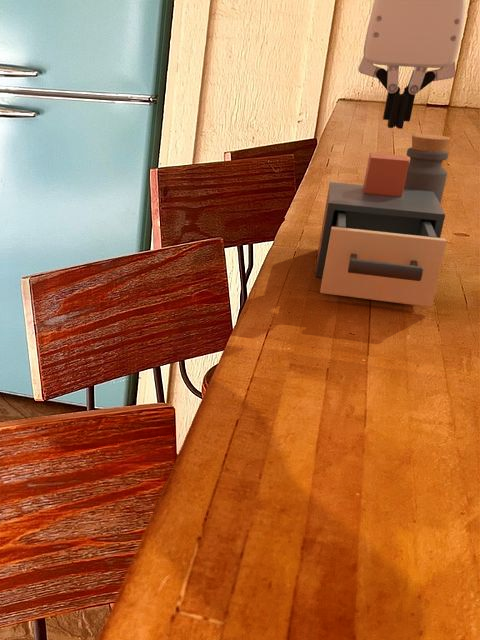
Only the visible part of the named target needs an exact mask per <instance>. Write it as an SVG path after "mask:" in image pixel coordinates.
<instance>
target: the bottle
mask: <svg viewBox="0 0 480 640" xmlns="http://www.w3.org/2000/svg"><path fill="white" fill-rule="evenodd" d="M450 141H451V137H449V136H445V135H439V134H427V133H413V134H412V135H411V147H408V148H407V150H406V156H407V157H408V158H409V165H408V170H407V175H406V180H405V185H404V189H409V190H420V191H431V192H434V193H435V195H436V197H437V199H438V201H439V203H440V205H441V206H442V201H443V200H442V199H443V195H444V190H445V187H446V182H447V177H448V171H447V170H446V169H445V168H444V167H443V166H442V164H443V161H446V160H448V159H449V155H450V152H449V151H448V150H447V148H448V146H449V144H450Z"/></svg>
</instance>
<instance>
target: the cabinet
mask: <svg viewBox="0 0 480 640" xmlns="http://www.w3.org/2000/svg"><path fill="white" fill-rule="evenodd" d="M328 184H329V185H328V191H327V196H326V201H325V208H324V214H323V218H322V225H321V231H320V235H319V242H318V246H317V247H318V248H317V257H316V258H317V259H316V265H315V266H316V268H315V278H318V279H319V278H320V279H322V278H323V272H324V267H325V261H326V255H327V250H328V244H329V239H330V233H331V227H335V224H336V218H337V213H338V211H347V212H357V213H367V214H377V215H387V216H397V217H407V218H417V219H427V220H430V222H431V225H432V227H433V229H434V232H435V234H436V236H437V238H441V236H442V232H443V227H444V223H445V219H446V213H445V210H444V209H443V206H442V204H441V205H440V203H439V201H438V199H437V197H436V195H435V193H434V192H431V191H420V190H409V189H403V194H402V197H399V196H388V195H377V194H367V193H364V189H363V186H364V184H355V183H354V184H352V183H343V182H332V181H330V182H329V183H328Z"/></svg>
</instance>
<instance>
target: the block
mask: <svg viewBox="0 0 480 640" xmlns="http://www.w3.org/2000/svg"><path fill="white" fill-rule="evenodd" d="M367 159H368V160H367V166H366V170H365V176H364V181H363V185H364V186H363V189H364V193H367V194H377V195H388V196H399V197H402V194H403V189H404V185H405V180H406V175H407V170H408V165H409V162H410V158H409V157H408V156H407V155H403V154H402V155H401V154H392V153H391V154H390V153H378V152H369V154H368V158H367Z"/></svg>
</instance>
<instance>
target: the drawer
mask: <svg viewBox="0 0 480 640" xmlns="http://www.w3.org/2000/svg"><path fill="white" fill-rule="evenodd" d="M447 242H448V241H447V239H446V238H444V237H440V238H437V236H436V234H435V232H434V229H433V227H432V225H431V222H430V220H427V219H417V218H407V217H397V216H387V215H377V214H367V213H357V212H347V211H338V213H337V218H336V224H335V227H331V233H330V239H329V244H328V250H327V255H326V261H325V267H324V272H323V278H321V284H320V289H319V293H320V294H325V295H326V294H327V295H332V296H333V295H334V296H340V297H349V298H356V299H363V300H372V301H379V302H387V303H395V304H402V305H403V304H404V305H412V306H418V307H419V306H420V307H427V308H432V307H433V304H434V303H433V302H434V299H435V295H436V290H437V286H438V281H439V277H440V273H441V268H442V265H443V259H444V255H445V250H446V246H447V244H448V243H447Z"/></svg>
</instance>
